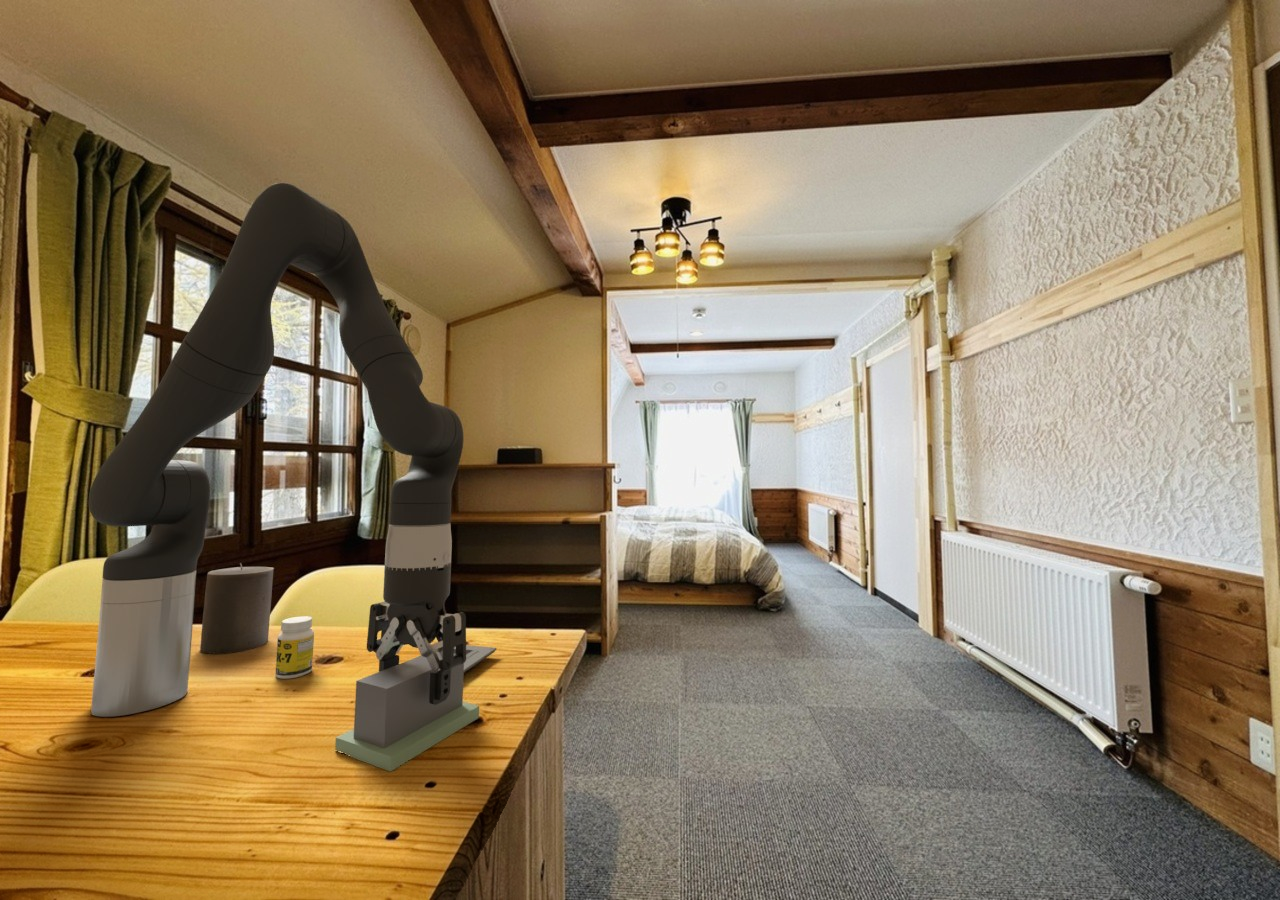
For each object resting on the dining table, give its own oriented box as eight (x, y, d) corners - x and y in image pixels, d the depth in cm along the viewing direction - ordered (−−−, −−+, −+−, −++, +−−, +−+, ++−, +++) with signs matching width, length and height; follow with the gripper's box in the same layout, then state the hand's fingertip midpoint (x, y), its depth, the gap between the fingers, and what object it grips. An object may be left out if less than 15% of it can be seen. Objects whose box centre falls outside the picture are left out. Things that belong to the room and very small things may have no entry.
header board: (335, 751, 55) (337, 701, 55) (428, 704, 66) (429, 662, 67) (390, 771, 51) (392, 717, 51) (478, 717, 63) (480, 674, 63)
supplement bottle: (268, 676, 75) (271, 621, 76) (299, 666, 80) (302, 614, 80) (288, 681, 73) (291, 625, 74) (319, 670, 78) (321, 617, 78)
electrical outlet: (453, 691, 72) (453, 674, 72) (390, 685, 74) (391, 669, 74) (496, 660, 84) (496, 646, 85) (441, 655, 86) (442, 641, 87)
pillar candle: (211, 658, 83) (218, 569, 84) (192, 647, 88) (199, 563, 89) (277, 643, 91) (283, 562, 92) (256, 634, 96) (262, 557, 97)
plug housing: (353, 738, 55) (356, 680, 55) (434, 697, 65) (436, 649, 65) (384, 748, 53) (386, 688, 53) (462, 705, 63) (464, 655, 63)
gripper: (352, 560, 60) (344, 695, 59) (437, 570, 54) (430, 721, 53) (404, 552, 67) (398, 673, 65) (484, 560, 61) (479, 694, 60)
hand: (412, 694), depth 59 cm, fingers open, 8 cm apart
